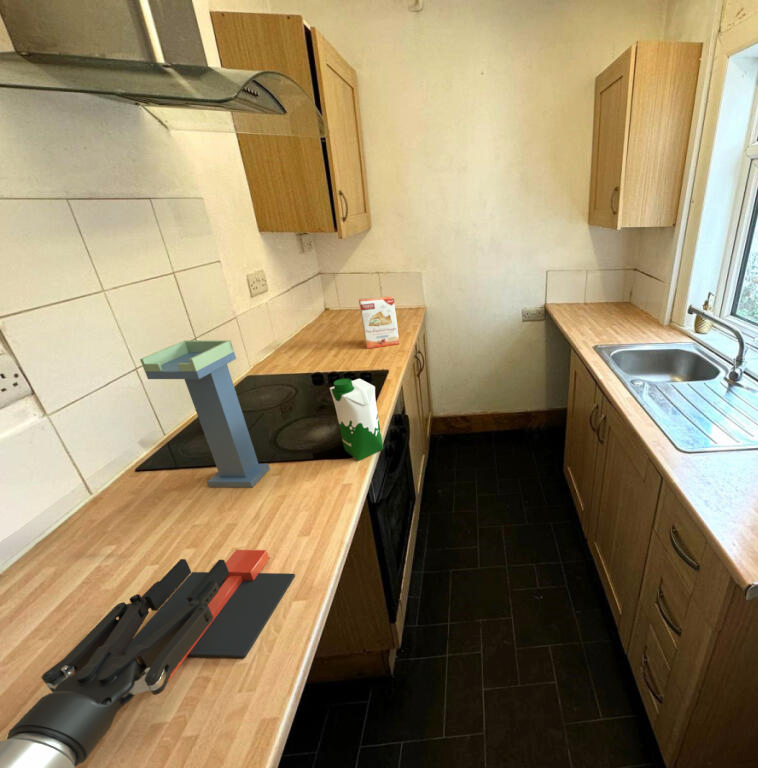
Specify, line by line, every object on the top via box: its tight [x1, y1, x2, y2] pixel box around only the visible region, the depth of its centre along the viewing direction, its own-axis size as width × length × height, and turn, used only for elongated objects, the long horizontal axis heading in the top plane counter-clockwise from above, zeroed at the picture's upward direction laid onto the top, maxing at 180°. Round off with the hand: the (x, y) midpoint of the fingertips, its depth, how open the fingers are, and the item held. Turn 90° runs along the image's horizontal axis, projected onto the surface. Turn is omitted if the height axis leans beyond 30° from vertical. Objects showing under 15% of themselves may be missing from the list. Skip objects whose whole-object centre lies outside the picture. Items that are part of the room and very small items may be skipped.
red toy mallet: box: [168, 549, 270, 682], centre depth 64 cm, size 6×21×2 cm, turn 178°
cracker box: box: [358, 295, 400, 349], centre depth 180 cm, size 14×6×21 cm, turn 115°
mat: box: [123, 571, 296, 659], centre depth 65 cm, size 18×14×1 cm
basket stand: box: [139, 339, 271, 489], centre depth 88 cm, size 10×11×32 cm
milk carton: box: [329, 378, 384, 462], centre depth 103 cm, size 9×9×20 cm
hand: (204, 566), depth 63 cm, fingers open, 5 cm apart
